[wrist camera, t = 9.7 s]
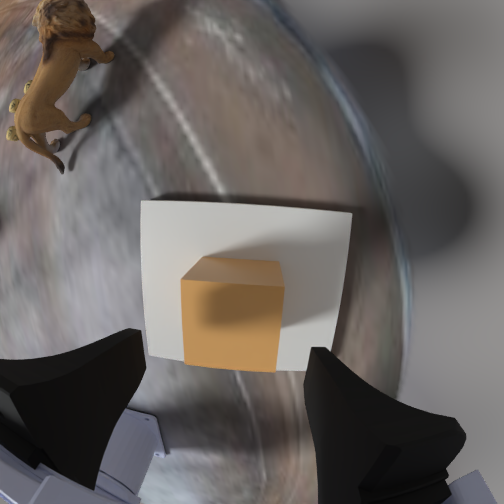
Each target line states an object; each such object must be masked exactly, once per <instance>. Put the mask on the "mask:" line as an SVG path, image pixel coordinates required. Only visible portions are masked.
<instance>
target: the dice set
mask: <svg viewBox="0 0 504 504" xmlns="http://www.w3.org/2000/svg"><path fill="white" fill-rule="evenodd" d="M32 81H33V80H30V81H28V82H27V84H26V85H25V87H24V93H25V94H26V92H27V91H28V89H29V87H30V85H31V83H32ZM20 101H21V100H19V99H14V100H12V102H11V104H10V107H9V111H10V112H13V113H16V110H17V107H18V105H19V103H20ZM14 122H15V118H14ZM6 138H7V140H11V141H18V140H19V137H18V135H17V132H16V127H15V126H11V127H9V129H8V131H7V135H6Z"/></svg>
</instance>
